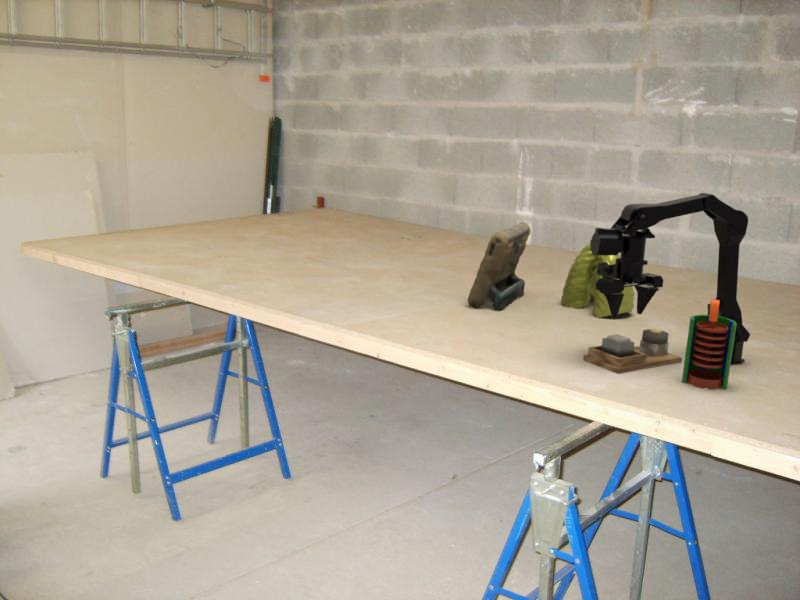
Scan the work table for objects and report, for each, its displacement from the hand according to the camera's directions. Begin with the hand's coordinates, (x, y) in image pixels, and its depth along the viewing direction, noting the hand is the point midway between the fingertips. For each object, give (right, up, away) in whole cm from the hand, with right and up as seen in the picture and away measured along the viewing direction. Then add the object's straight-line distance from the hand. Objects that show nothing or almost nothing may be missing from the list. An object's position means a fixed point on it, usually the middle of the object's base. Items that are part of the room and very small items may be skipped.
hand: (626, 316), depth 207 cm
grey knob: (+9, -10, +6) cm, 14 cm away
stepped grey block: (-3, -11, -1) cm, 11 cm away
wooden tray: (+2, -12, +3) cm, 12 cm away
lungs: (+6, +1, +57) cm, 57 cm away
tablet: (-25, +4, +64) cm, 69 cm away
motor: (+15, -16, -12) cm, 25 cm away
